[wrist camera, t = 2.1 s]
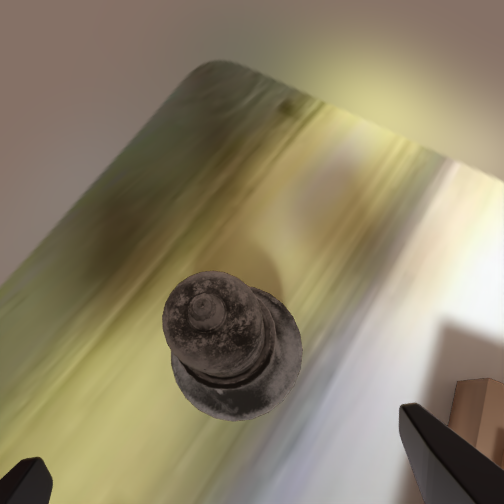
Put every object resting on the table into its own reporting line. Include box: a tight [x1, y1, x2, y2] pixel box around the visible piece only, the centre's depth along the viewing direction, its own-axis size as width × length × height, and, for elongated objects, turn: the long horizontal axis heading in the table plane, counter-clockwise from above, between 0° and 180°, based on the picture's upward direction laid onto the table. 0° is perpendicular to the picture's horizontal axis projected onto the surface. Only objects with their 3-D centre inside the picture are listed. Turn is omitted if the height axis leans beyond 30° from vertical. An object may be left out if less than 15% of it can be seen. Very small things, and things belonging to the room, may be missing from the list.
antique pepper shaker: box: [162, 271, 303, 421], centre depth 14 cm, size 6×6×12 cm
